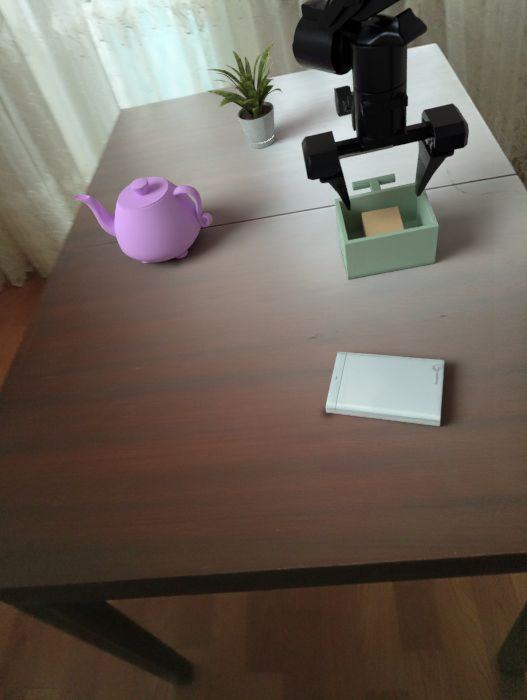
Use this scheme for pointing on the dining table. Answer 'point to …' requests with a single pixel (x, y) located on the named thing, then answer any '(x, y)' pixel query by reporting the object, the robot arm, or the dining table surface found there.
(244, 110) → the house plant
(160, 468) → the dining table surface
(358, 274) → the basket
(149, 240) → the teapot
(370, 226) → the tan cardboard cube
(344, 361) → the hard drive
